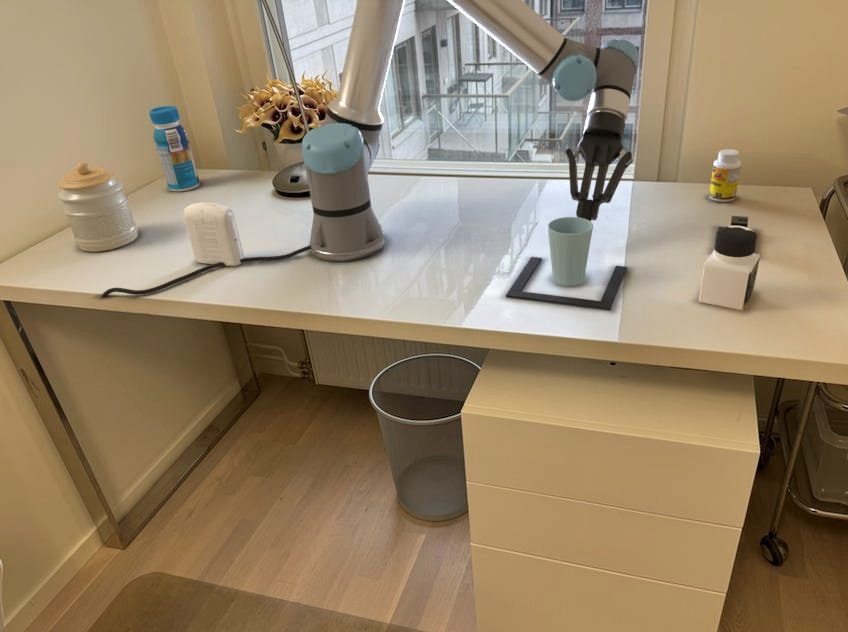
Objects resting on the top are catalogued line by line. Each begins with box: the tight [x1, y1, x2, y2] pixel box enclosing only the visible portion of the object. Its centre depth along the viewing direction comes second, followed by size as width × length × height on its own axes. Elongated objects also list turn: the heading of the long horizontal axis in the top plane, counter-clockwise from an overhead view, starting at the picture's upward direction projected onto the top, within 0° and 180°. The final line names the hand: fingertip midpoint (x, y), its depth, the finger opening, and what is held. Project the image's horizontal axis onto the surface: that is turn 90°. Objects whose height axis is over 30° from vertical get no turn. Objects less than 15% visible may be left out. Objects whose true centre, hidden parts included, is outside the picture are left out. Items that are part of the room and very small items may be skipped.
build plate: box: [717, 215, 757, 254], centre depth 133 cm, size 12×7×5 cm, turn 159°
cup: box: [547, 216, 594, 287], centre depth 123 cm, size 8×8×10 cm
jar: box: [57, 161, 139, 252], centre depth 151 cm, size 13×13×18 cm
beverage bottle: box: [148, 105, 201, 193], centre depth 179 cm, size 8×8×20 cm
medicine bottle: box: [698, 225, 761, 311], centre depth 113 cm, size 7×7×12 cm
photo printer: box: [183, 202, 245, 267], centre depth 139 cm, size 10×4×12 cm, turn 73°
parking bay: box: [505, 256, 628, 311], centre depth 124 cm, size 16×18×1 cm
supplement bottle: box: [708, 148, 742, 203], centre depth 150 cm, size 6×6×10 cm
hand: (582, 234), depth 131 cm, fingers closed
